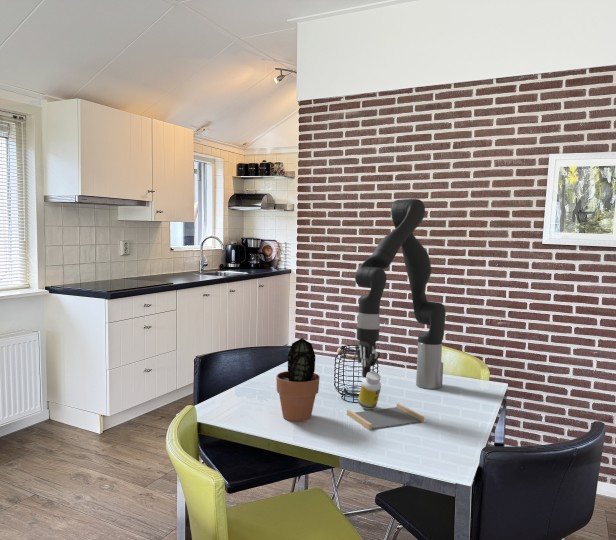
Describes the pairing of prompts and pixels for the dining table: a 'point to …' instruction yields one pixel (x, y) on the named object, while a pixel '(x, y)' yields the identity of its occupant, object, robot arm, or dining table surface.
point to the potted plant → (298, 382)
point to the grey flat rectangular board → (386, 417)
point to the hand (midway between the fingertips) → (365, 376)
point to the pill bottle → (370, 391)
